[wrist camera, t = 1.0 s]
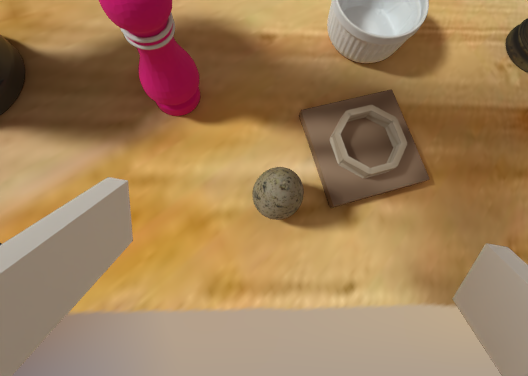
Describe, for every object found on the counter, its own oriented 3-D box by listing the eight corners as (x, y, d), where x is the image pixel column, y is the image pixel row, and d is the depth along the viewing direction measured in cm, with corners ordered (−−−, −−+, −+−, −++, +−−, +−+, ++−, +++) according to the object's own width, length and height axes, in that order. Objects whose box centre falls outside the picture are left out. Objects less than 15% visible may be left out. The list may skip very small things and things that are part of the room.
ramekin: (369, 87, 42) (393, 55, 35) (303, 35, 43) (314, -6, 37) (417, 35, 45) (447, -3, 38) (353, -13, 46) (372, -58, 40)
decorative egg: (305, 197, 37) (326, 178, 28) (277, 232, 36) (289, 224, 26) (271, 170, 38) (280, 141, 28) (242, 202, 37) (241, 184, 27)
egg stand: (299, 115, 40) (304, 102, 37) (386, 95, 42) (399, 81, 38) (330, 207, 37) (338, 203, 34) (422, 182, 39) (439, 175, 36)
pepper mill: (198, 70, 41) (157, -98, 21) (208, 114, 39) (172, -23, 20) (148, 78, 40) (57, -89, 20) (156, 123, 38) (65, -10, 19)
